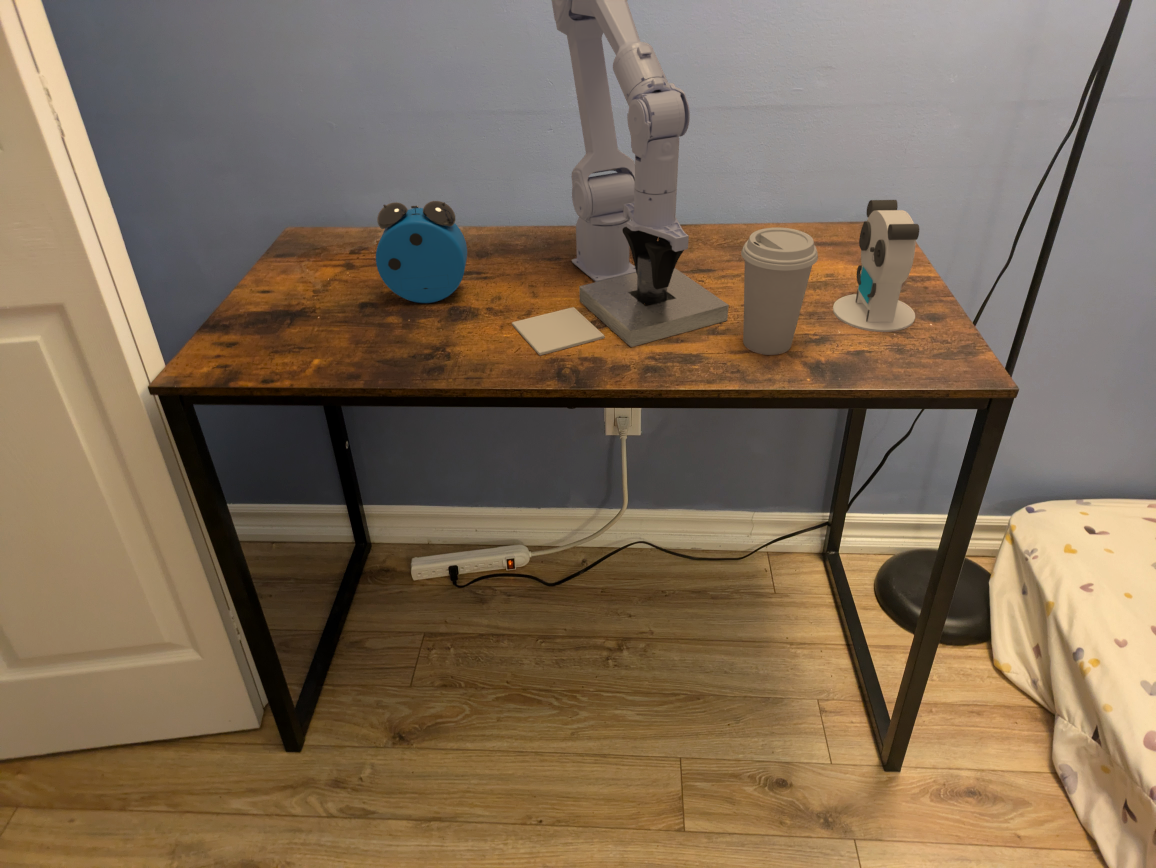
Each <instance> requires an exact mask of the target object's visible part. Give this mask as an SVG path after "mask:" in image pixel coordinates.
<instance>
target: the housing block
mask: <svg viewBox="0 0 1156 868" xmlns="http://www.w3.org/2000/svg"><path fill="white" fill-rule="evenodd" d="M578 293H579V302H580V303H581V304H583V306H585V307H586V308H587V310H589V311H590V312H591V313H592V314H593V315H594V316H595V317H597V318H598V319H599V320H600V321H601V322H602V323H603V324H605V325H606V326H607V328H609V329H610V330H611V331H612V332H613V333H615V334H616V335H617V336H618V338H620V339H621V340H622V341H623V343H624V342H625V344H626V345H628V346H629V347H630V348H633V347H637V346H640V345H644V344H647V343H650V342H655V341H659V340H662V339H666V338H669V337H673V336H676V335H680V334H684V333H687V332H691V331H695V330H698V329H701V328H705V327H710V326H713V325H715V324H717V325H718V324H719V323H723V322H727V321H728V317H729V315H728V314H729V307H730V305H729V304H728V303H727V302H725V301H724V300H723V299H721V298H719V297H718V296H717V295H715V294H714V293H712V292H711V291H710V290H708V289H706V288H705V287H703V286H702V285H701V284H700V283H697V282H696V281H695V280H693V279H692V278H690V277H689V276H687V275H686V274H685V273H683V272H682V271H680V270H679V269H677V268H676V267H675V268H674V271H673V274H672V277H671V280H670V283H669V286H668V287H667V300H666V301H665V302H661V303H657V304H653V305H644V304H642V303H641V302H639V301H638V300H637V273H632V274H628V275H624V276H620V277H616V278H611V279H607V280H603V281H599V282H595V281H594V282H591V283H586V284H583V285H579V292H578Z"/></svg>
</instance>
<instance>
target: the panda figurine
mask: <svg viewBox="0 0 1156 868" xmlns="http://www.w3.org/2000/svg"><path fill="white" fill-rule="evenodd" d="M898 204H899V203H898V201H897V199H871V200H870V199H869V201H868V203H867V206H866V217H867V219H866V220H865V221H864V222H862V223H863V224H862V226H861V230H860V233H859V240H858V246H859V249H860V260H861V265H860V264H859V265H858V266H857V269H856V283H857V285H858V287H857V289H856V290H857V291H856V293H854V294H848V295H845V296H842V297H840V298H838V299H837V300H836V301H834V303H833V306H832V312H833V315H835V317H836V318H837V320H839V321H840V322H842V323H844V324H846V325H848V326H850V327H853V328H857V329H859V330H864V331H869V332H874V333H875V332H876V333H878V332H879V333H891V332H898V331H902V330H905V329H907V328H909V327H911V326H912V325H913V324H914V323H915V320H916V313H915V311H914V310H913V308H912V307H911V306H909V305H908V304H907V303H905V302H903V301H901V300H899V298H900V295H901V290H902V286H903V283H905V282H906V281H907V279H908V277H909V276H910V274H911V270H912V268H913V263H914V259H915V253H916V245H917V244H916V243H917V240H918V238H919V237H920V236H919V235H920V226H919V224H918V223H915V222H914V221H913V219H912V217H911V215H910V213H908V211H906V210H903V209H899V210H898V206H899V205H898Z"/></svg>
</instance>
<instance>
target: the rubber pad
mask: <svg viewBox="0 0 1156 868" xmlns="http://www.w3.org/2000/svg"><path fill="white" fill-rule="evenodd" d="M511 325H512V327H513V328H514V329H515V330H516V331H517V332H518V333H519V335H521V337H522V338H523V339H524V340H525V341H526V342H527V344H529V346H530V347H532V349H533V350H534V351H535V353H537V354H538V355H539V356H543V355H547V354H550V353H555V352H558V351H559V352H560V351H561V350H566V349H569V348H572V347H576V346H580V345H584V344H588V343H592V342H595V341H600V340H603V339H605V338H606V337H605V335H604V333H602V332H601V331H600V330H599V329H598V328H597V327H596V326H595V325H594V324H593V323H591V321H590V320H588V319H587V318H586V317H585V316H584V315H583V314H582V313H580V312H579V311H578V309H576V308H575V307H574V306H573V307H569V308H564V309H560V310H556V311H551V312H549V313H543V314H541V315H536V316H532V317H528V318H525V319H520V320H516V321H512V322H511Z"/></svg>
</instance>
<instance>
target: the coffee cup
mask: <svg viewBox="0 0 1156 868" xmlns="http://www.w3.org/2000/svg"><path fill="white" fill-rule="evenodd" d="M814 241H815V240H814V238H813V236H811V235H809V234H808V233H806V232H804V231H803V230H802V231H801V230H799V229H794V228H788V227H766V228H765V227H764V228H762V229H761V228H760V229H757V230H755V231H754V232H752V233H751V234H750V235H749V237H748V240H747V241H745V243H744V244H743V247H742V249H741V252H740V254H741V257H742V259H744V270H743V271H744V274H743V275H744V279H743V280H744V281H743V282H744V283H743V288H744V289H743V325H742V326H743V329H742V331H743V334H742V336H743V340H742V342H743V345H744V347H745V348H746V349H748V350H749V351H751V352H754V353H756V354H760V355H766V356H776V355H780V354H784V353H787V352H789V350H790V349H791V348H792V345H793V340H794V336H795V334H796V333H795V332H796V329H797V324H798V320H799V317H800V315H801V314H800V313H801V311H802V305H803V302H804V299H805V295H806V290H807V288H808V283H809V279H810V275H811V273H812V272H811V271H812V269H813V266H814V265H815V264H816V263H817V261H818V260H819V255H818V253H819V252H818V250H817V246H816V245H815V242H814Z"/></svg>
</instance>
